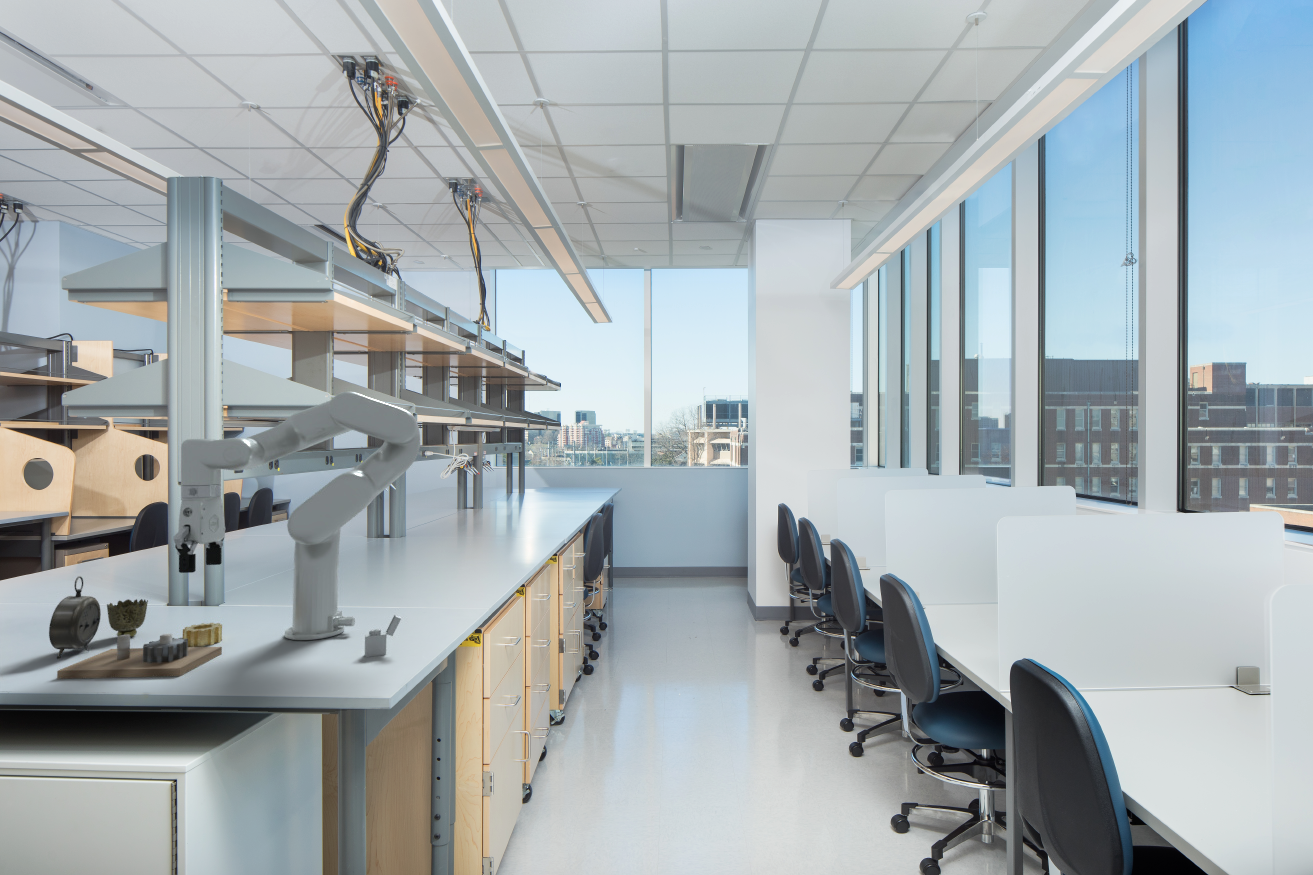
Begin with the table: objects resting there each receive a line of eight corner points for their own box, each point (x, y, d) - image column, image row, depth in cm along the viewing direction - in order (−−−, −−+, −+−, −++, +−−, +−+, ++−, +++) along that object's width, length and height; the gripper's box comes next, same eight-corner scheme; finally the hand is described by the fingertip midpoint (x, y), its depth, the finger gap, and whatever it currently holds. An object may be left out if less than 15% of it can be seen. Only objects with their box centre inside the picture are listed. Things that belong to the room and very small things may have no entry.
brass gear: (228, 637, 152) (228, 622, 153) (209, 646, 145) (210, 630, 145) (195, 638, 152) (195, 622, 152) (174, 647, 145) (175, 631, 145)
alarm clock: (76, 646, 145) (78, 572, 145) (105, 644, 147) (107, 571, 147) (45, 661, 135) (48, 581, 135) (77, 659, 136) (79, 580, 136)
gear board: (221, 653, 140) (222, 625, 140) (180, 675, 126) (180, 644, 127) (111, 655, 138) (112, 627, 138) (57, 678, 124) (58, 646, 125)
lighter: (365, 656, 139) (365, 618, 139) (364, 654, 140) (365, 617, 141) (400, 652, 142) (401, 615, 143) (399, 650, 144) (400, 613, 144)
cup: (123, 642, 148) (124, 606, 148) (97, 640, 150) (98, 604, 150) (155, 633, 156) (156, 599, 156) (129, 631, 157) (130, 597, 157)
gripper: (194, 495, 141) (194, 575, 141) (239, 490, 158) (239, 561, 158) (157, 495, 141) (157, 576, 140) (206, 490, 158) (206, 562, 158)
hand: (200, 568), depth 149 cm, fingers open, 9 cm apart
